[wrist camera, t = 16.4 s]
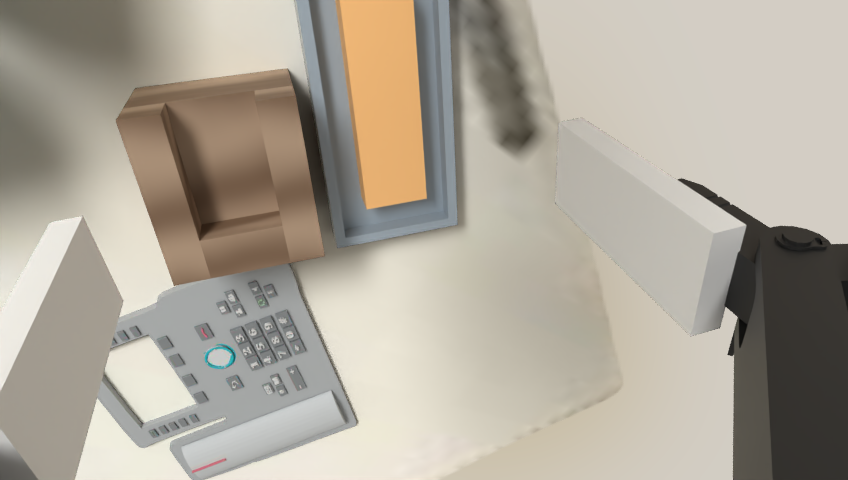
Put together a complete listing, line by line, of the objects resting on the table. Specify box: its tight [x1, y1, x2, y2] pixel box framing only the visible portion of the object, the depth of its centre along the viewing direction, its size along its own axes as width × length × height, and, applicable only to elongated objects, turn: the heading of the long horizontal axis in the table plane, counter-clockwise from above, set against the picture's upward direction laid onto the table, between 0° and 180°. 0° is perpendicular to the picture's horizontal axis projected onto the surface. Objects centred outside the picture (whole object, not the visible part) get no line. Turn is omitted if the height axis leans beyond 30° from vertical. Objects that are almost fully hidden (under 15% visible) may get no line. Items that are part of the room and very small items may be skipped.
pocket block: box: [116, 68, 325, 286], centre depth 41 cm, size 12×11×8 cm
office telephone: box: [97, 263, 357, 480], centre depth 54 cm, size 23×3×20 cm
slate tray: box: [294, 0, 458, 248], centre depth 44 cm, size 24×11×2 cm, turn 4°
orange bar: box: [335, 0, 427, 209], centre depth 43 cm, size 16×5×2 cm, turn 4°
